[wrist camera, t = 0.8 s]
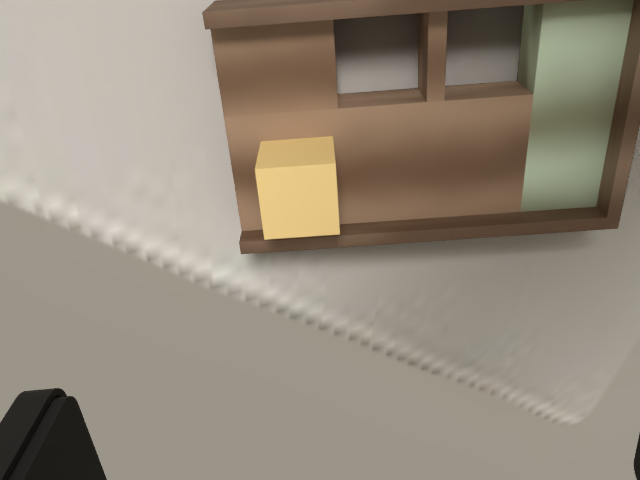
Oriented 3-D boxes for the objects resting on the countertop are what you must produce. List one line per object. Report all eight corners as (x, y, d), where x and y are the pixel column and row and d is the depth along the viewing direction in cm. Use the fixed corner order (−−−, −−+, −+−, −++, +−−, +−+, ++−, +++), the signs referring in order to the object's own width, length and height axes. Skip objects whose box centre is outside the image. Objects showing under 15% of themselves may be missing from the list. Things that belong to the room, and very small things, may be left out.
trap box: (215, 0, 33) (202, 12, 29) (626, -32, 32) (670, -24, 28) (247, 220, 39) (241, 253, 36) (586, 196, 39) (617, 228, 35)
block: (260, 141, 34) (254, 169, 30) (332, 136, 33) (335, 163, 30) (268, 206, 36) (264, 239, 32) (336, 201, 36) (340, 234, 32)
